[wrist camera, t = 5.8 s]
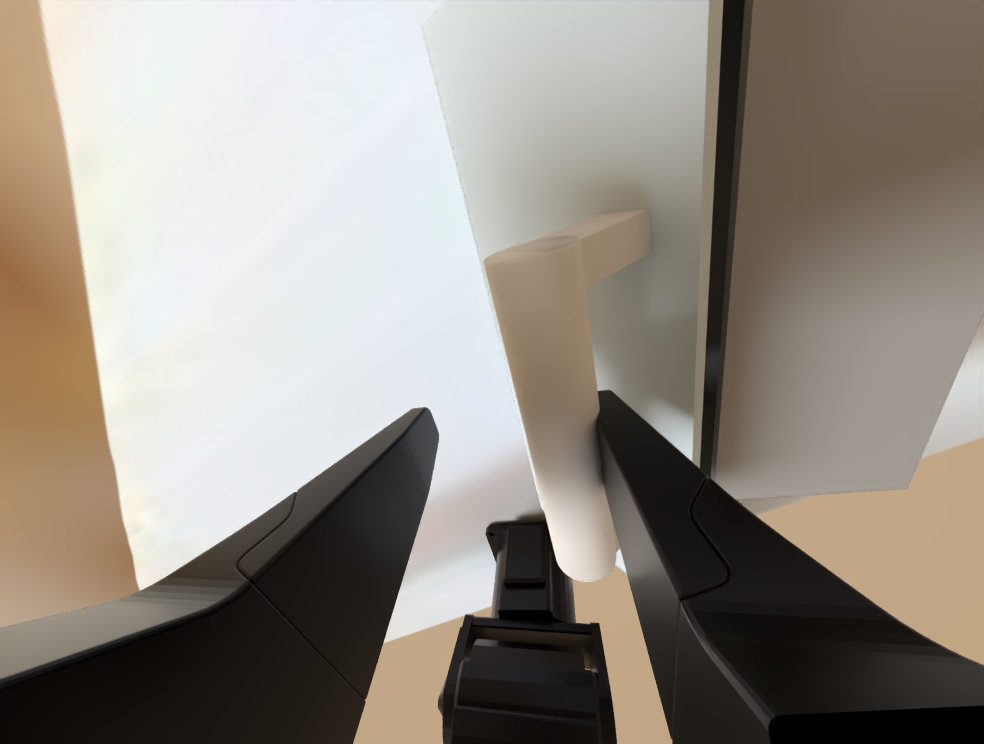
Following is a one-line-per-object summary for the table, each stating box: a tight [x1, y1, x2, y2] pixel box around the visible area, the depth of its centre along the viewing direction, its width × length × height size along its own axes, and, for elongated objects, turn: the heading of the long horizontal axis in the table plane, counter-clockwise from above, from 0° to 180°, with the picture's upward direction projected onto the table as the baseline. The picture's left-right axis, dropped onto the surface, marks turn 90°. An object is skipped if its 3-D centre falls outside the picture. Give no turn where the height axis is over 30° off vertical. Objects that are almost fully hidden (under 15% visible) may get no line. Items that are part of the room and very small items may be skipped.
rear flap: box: [421, 0, 723, 582], centre depth 10 cm, size 18×7×4 cm
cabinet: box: [700, 0, 984, 500], centre depth 14 cm, size 18×14×6 cm
